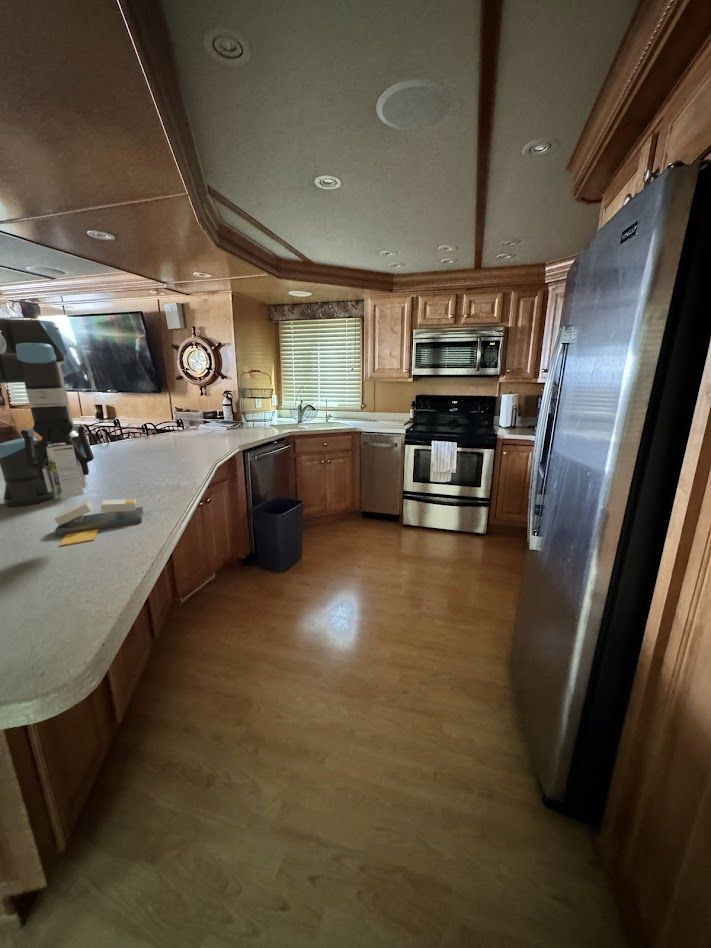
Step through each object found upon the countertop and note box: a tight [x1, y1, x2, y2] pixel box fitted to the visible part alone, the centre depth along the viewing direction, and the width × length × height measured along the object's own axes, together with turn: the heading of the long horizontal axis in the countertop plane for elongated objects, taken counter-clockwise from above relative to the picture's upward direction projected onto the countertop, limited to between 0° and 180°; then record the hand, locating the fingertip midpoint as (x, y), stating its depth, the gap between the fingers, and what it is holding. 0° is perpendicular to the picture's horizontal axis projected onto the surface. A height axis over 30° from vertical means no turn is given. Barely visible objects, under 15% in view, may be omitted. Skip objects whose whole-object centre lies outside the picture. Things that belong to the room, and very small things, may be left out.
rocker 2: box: [100, 498, 137, 513], centre depth 120 cm, size 5×9×3 cm, turn 116°
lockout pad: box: [59, 529, 100, 547], centre depth 109 cm, size 8×8×1 cm
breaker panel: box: [54, 506, 144, 537], centre depth 118 cm, size 10×22×4 cm, turn 116°
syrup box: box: [46, 443, 84, 500], centre depth 103 cm, size 6×6×14 cm
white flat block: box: [53, 499, 94, 526], centre depth 115 cm, size 5×9×2 cm, turn 116°
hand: (68, 488), depth 105 cm, fingers closed on syrup box, 7 cm apart
